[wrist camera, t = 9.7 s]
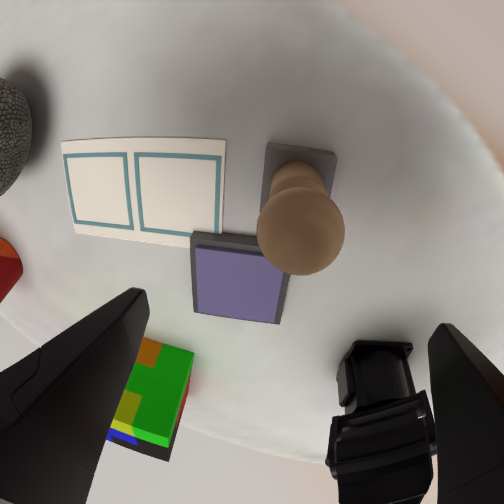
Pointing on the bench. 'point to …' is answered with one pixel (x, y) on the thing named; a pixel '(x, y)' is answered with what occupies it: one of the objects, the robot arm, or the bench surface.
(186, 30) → the bench surface
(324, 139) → the bench surface
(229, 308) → the ink pad
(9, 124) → the decorative ball
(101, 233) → the print card
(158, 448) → the puzzle toy
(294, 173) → the stamp
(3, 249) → the paper cup
